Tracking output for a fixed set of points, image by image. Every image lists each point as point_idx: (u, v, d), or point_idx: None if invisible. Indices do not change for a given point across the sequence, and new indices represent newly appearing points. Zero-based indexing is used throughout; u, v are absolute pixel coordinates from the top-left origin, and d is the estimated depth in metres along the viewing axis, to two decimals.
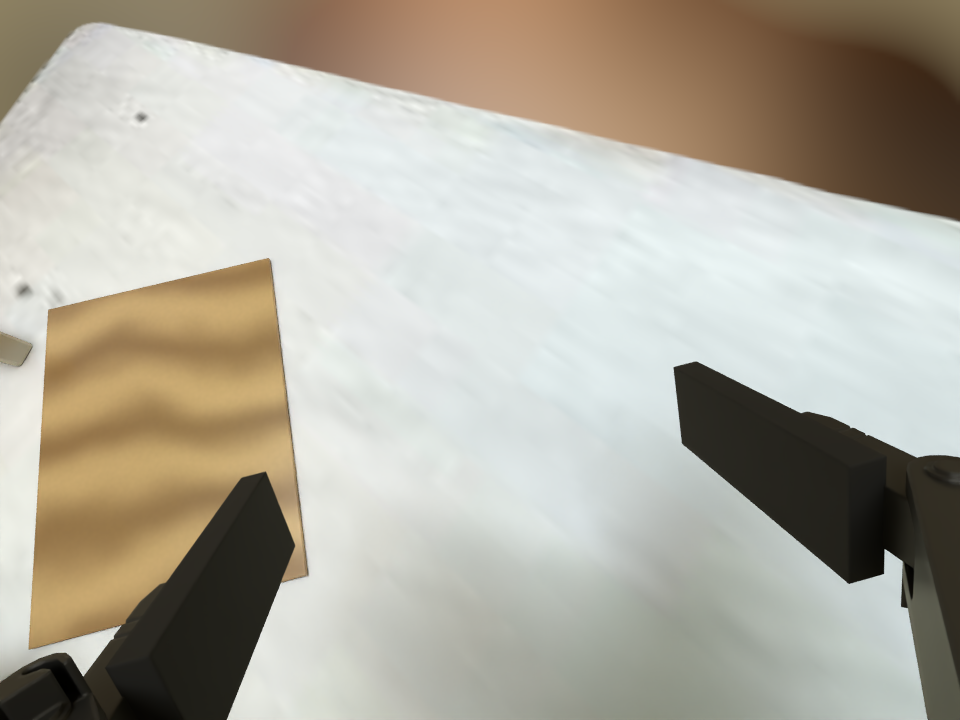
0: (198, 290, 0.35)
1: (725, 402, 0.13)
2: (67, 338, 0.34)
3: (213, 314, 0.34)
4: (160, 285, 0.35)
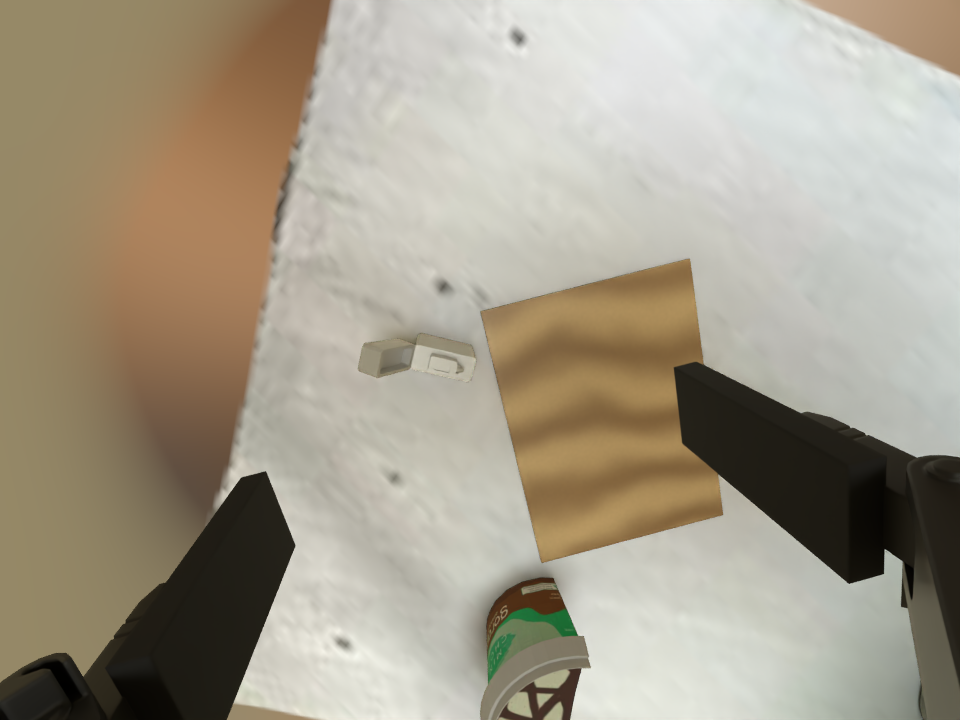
0: (624, 293, 0.36)
1: (725, 402, 0.13)
2: (508, 341, 0.36)
3: (641, 319, 0.37)
4: (587, 287, 0.36)
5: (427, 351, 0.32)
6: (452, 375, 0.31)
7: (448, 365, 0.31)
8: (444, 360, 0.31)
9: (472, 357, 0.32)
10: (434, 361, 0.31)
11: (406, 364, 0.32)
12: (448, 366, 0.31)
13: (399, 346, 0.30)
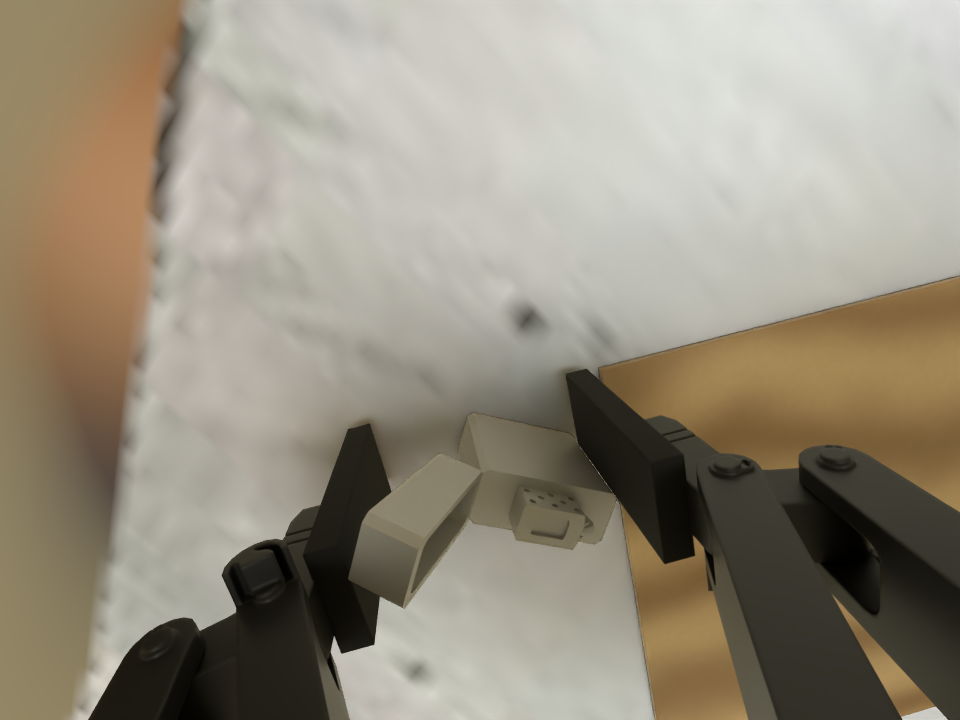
0: (878, 333, 0.18)
1: (592, 406, 0.14)
2: None
3: (900, 381, 0.19)
4: (811, 321, 0.18)
5: (510, 482, 0.14)
6: (571, 544, 0.13)
7: (563, 523, 0.13)
8: (555, 513, 0.13)
9: (607, 492, 0.14)
10: (531, 516, 0.13)
11: (460, 515, 0.13)
12: (561, 524, 0.13)
13: (455, 496, 0.12)
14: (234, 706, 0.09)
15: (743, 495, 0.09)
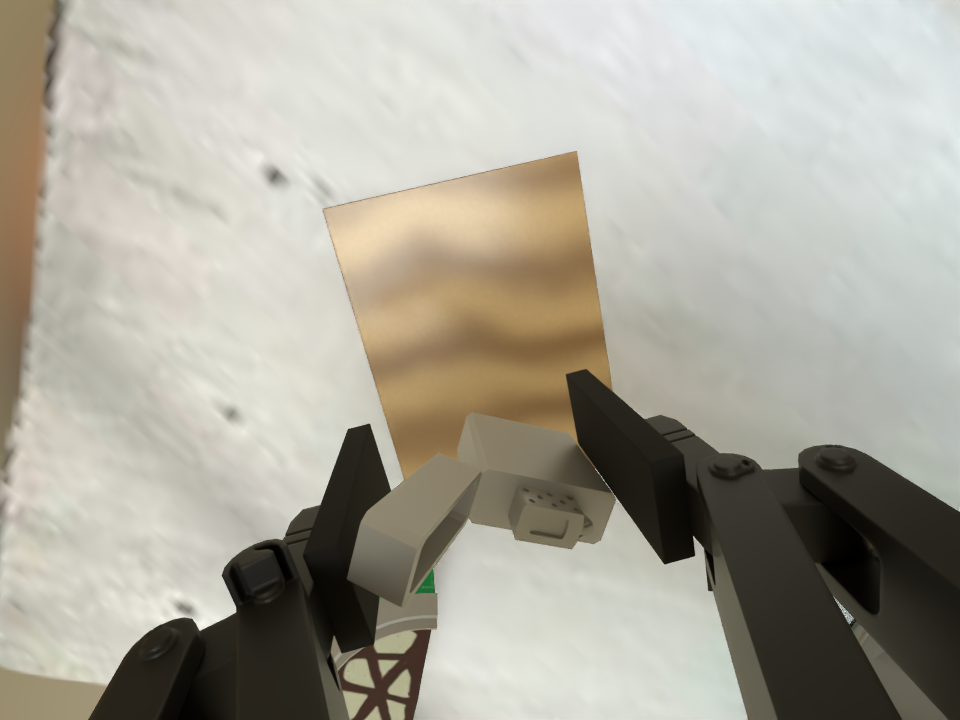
0: (499, 192, 0.30)
1: (592, 406, 0.14)
2: (359, 247, 0.30)
3: (521, 224, 0.31)
4: (453, 182, 0.30)
5: (509, 482, 0.14)
6: (570, 544, 0.13)
7: (562, 522, 0.13)
8: (554, 512, 0.13)
9: (607, 491, 0.14)
10: (531, 515, 0.13)
11: (460, 515, 0.13)
12: (560, 524, 0.13)
13: (454, 496, 0.12)
14: (234, 706, 0.09)
15: (743, 495, 0.09)
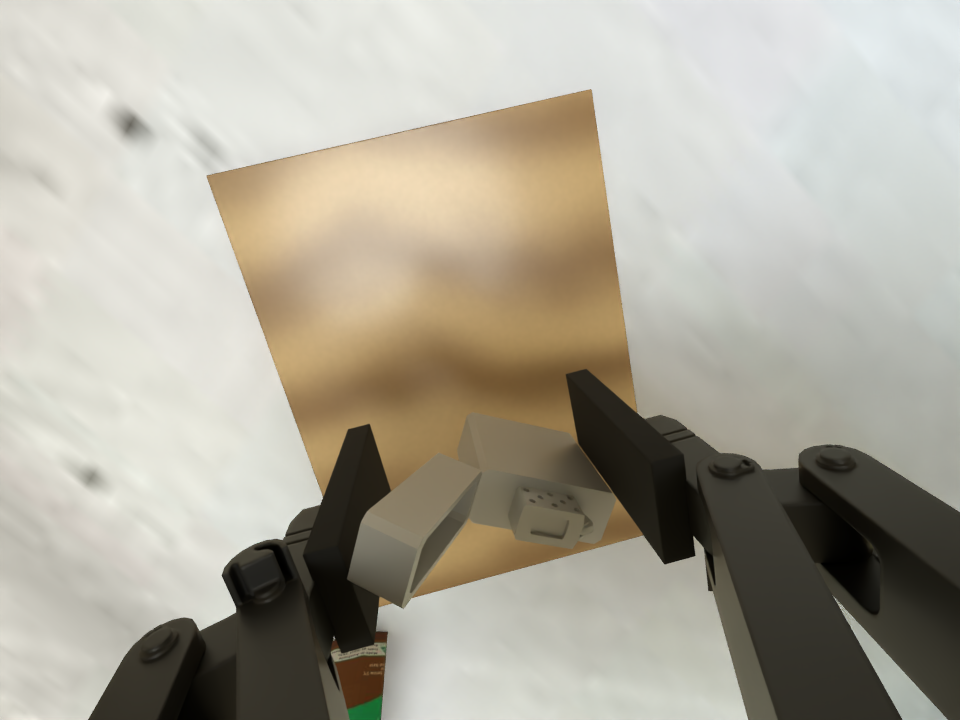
0: (475, 151, 0.20)
1: (592, 406, 0.14)
2: (266, 234, 0.20)
3: (509, 200, 0.21)
4: (405, 135, 0.20)
5: (509, 482, 0.14)
6: (570, 544, 0.13)
7: (563, 522, 0.13)
8: (554, 512, 0.13)
9: (607, 491, 0.14)
10: (531, 515, 0.13)
11: (460, 515, 0.13)
12: (561, 524, 0.13)
13: (454, 496, 0.12)
14: (234, 706, 0.09)
15: (743, 495, 0.09)
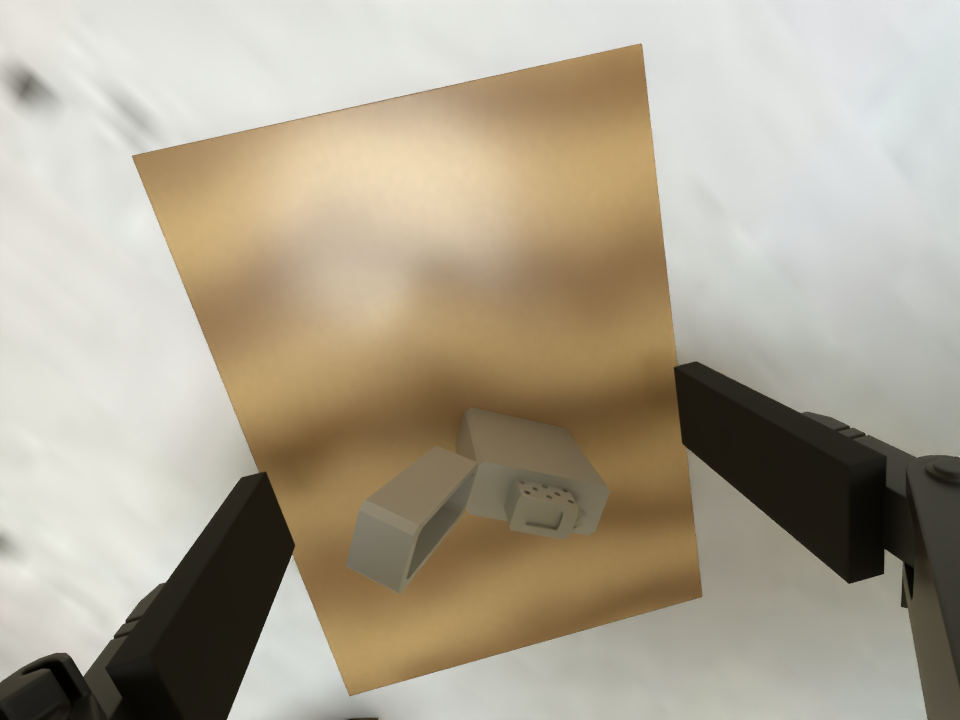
0: (490, 124, 0.15)
1: (725, 402, 0.13)
2: (214, 234, 0.15)
3: (532, 190, 0.16)
4: (397, 103, 0.15)
5: (505, 474, 0.14)
6: (565, 535, 0.14)
7: (557, 514, 0.13)
8: (549, 504, 0.13)
9: (601, 484, 0.15)
10: (526, 506, 0.13)
11: (457, 506, 0.14)
12: (555, 515, 0.14)
13: (450, 486, 0.12)
14: None
15: None
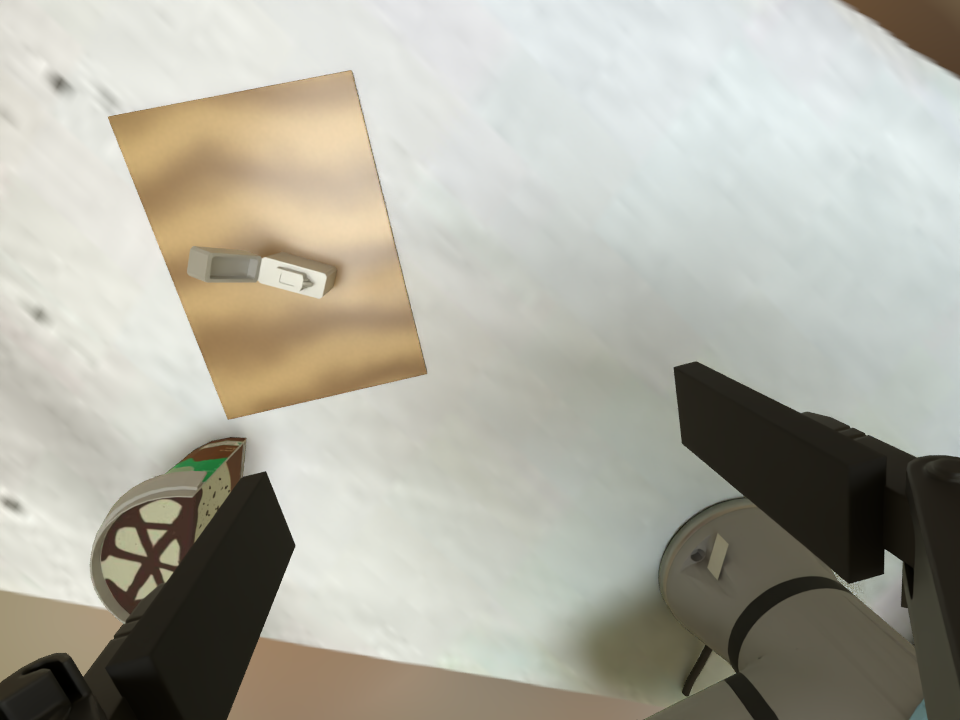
0: (279, 106, 0.32)
1: (725, 402, 0.13)
2: (147, 155, 0.32)
3: (303, 139, 0.33)
4: (233, 95, 0.32)
5: (275, 264, 0.31)
6: (298, 289, 0.31)
7: (294, 278, 0.31)
8: (289, 273, 0.31)
9: (323, 273, 0.32)
10: (278, 273, 0.31)
11: (252, 276, 0.31)
12: (294, 280, 0.31)
13: (237, 254, 0.29)
14: None
15: None
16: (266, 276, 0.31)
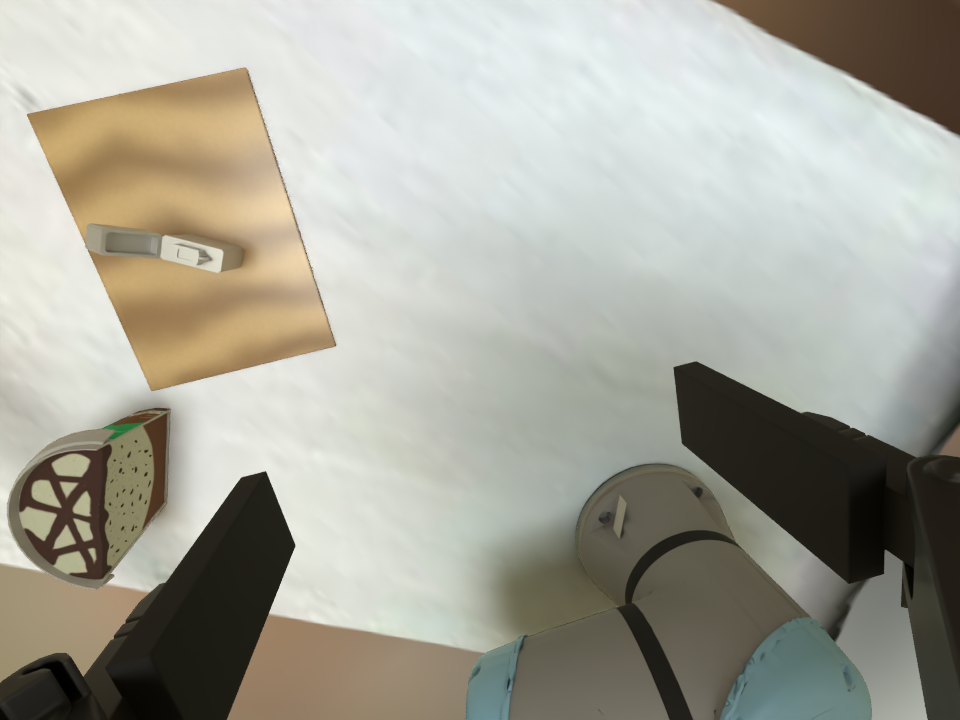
0: (181, 102, 0.36)
1: (725, 402, 0.13)
2: (64, 148, 0.36)
3: (205, 131, 0.37)
4: (139, 93, 0.36)
5: (175, 241, 0.35)
6: (195, 263, 0.34)
7: (190, 253, 0.34)
8: (185, 248, 0.34)
9: (220, 249, 0.35)
10: (176, 249, 0.34)
11: (154, 253, 0.34)
12: (190, 255, 0.34)
13: (134, 231, 0.33)
14: None
15: None
16: (167, 253, 0.35)
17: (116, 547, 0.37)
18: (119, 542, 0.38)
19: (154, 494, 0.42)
